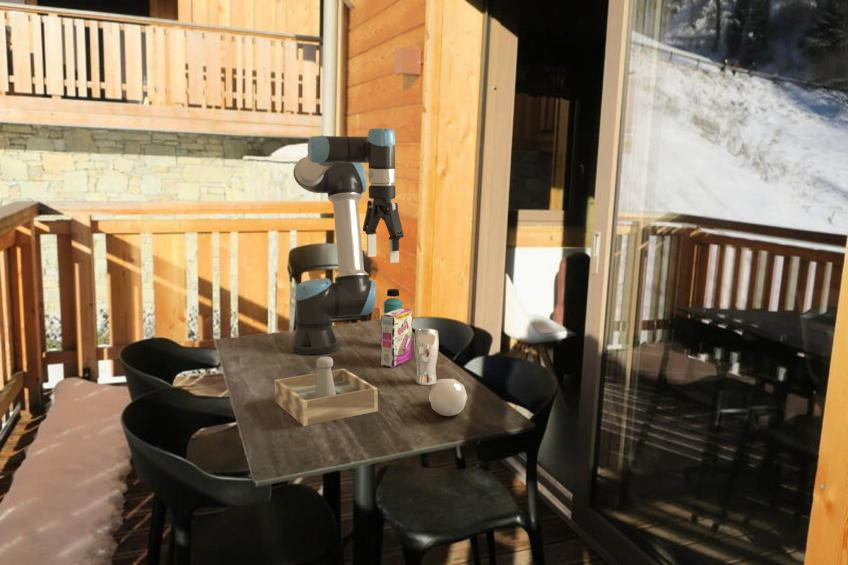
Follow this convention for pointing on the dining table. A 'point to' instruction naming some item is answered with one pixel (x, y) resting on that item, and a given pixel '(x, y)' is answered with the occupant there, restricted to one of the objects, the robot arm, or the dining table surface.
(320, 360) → the salt shaker
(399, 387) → the dining table surface
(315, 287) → the robot arm
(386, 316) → the candy bar box
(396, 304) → the beverage bottle
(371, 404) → the insert box
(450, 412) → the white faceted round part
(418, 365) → the beer glass
